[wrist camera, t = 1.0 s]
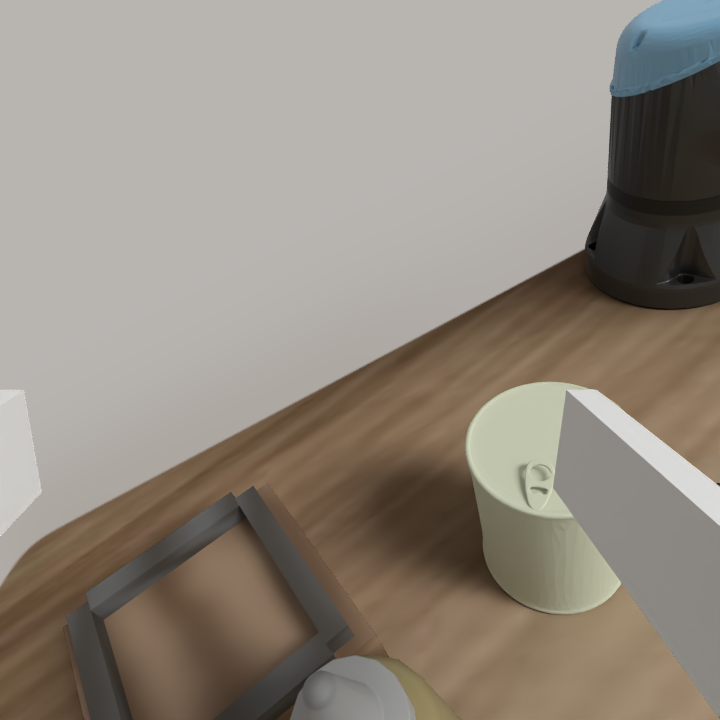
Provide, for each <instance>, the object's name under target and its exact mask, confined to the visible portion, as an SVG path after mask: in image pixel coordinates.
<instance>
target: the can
mask: <svg viewBox="0 0 720 720" xmlns="http://www.w3.org/2000/svg"><path fill="white" fill-rule="evenodd" d="M566 390H590V389H588V388H585V387H581V386H577V385H574V384H568V383H561V382H537V383H531V384H525V385H521V386H518V387H514V388H512V389H509V390H507V391H505V392H503V393H500V394H499V395H497V396H495V397H494V398H492V399H491V400H490V401H488V402H487V403H486V404H485V405H484V406H483V407H482V408H481V409H480V410H479V411H478V412H477V414H476V415H475V416H474V418H473V419H472V421H471V423H470V425H469V428H468V430H467V434H466V440H465V455H466V460H467V464H468V467H469V469H470V473H471V477H472V481H473V486H474V491H475V496H476V501H477V506H478V511H479V516H480V522H481V527H482V533H483V552H484V557H485V561H486V564H487V566H488V568H489V571H490V572H491V574H492V576H493V578H494V579H495V580H496V582H497V583H498V584H499V585H500V587H501V588H502V589H503V590H504V591H505V592H506V593H508V594H509V595H510V596H511V597H512V598H514V599H515V600H517V601H518V602H520V603H522V604H523V605H525V606H527V607H530V608H532V609H535V610H538V611H541V612H545V613H551V614H561V615H563V614H576V613H581V612H585V611H588V610H590V609H593V608H595V607H597V606H599V605H600V604H602V603H603V602H605V601H606V600H607V599H609V598H610V597H611V596H612V595H613V594H614V593H615V591H616V590H617V589H618V587H619V586H620V584H621V582H620V580H619V579H618V577H617V576H616V575H615V573H614V572H613V570H612V569H611V568H610V566H609V565H608V564H607V562H606V561H605V559H604V558H603V557H602V555H601V554H600V552H599V551H598V550H597V548H596V547H595V545H594V544H593V543H592V541H591V540H590V539H589V537H588V536H587V534H586V533H585V532H584V530H583V529H582V527H581V526H580V525H579V523H578V522H577V520H576V519H575V518H574V516H573V515H572V514H571V512H570V511H569V509H568V508H567V507H566V505H565V504H564V502H563V501H562V500H561V498H560V497H559V496H558V494H557V493H556V491H555V490H554V489H553V482H554V475H555V467H556V460H557V453H558V446H559V438H560V431H561V424H562V417H563V409H564V402H565V395H566ZM609 400H610V399H609ZM610 401H611V400H610ZM611 402H613V401H611ZM613 403H614V402H613ZM614 404H615V403H614ZM615 405H617V404H615ZM617 406H618V405H617ZM618 407H619V406H618ZM619 408H620V407H619ZM620 409H621V408H620Z"/></svg>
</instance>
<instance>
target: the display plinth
mask: <svg viewBox="0 0 720 720" xmlns="http://www.w3.org/2000/svg"><path fill="white" fill-rule="evenodd" d="M86 595H87V599H88V602H87V603H85V604H84V605H82V606H81V607H80V608H78V609H77V610H75V611H74V612H72V613H71V614H70V615H68V616H67V617H66V618H67V623H68V624H67V625H66V626H64V627H63V629H64V634H65V638H66V642H67V647H68V651H69V655H70V660H71V664H72V669H73V673H74V677H75V682H76V686H77V691H78V695H79V699H80V704H81V708H82V713H83V717H84V720H290V718H291V715H292V712H293V709H294V705H295V702H296V699H297V696H298V694H299V692H300V691H301V689H302V688H303V686H304V683H305V681H306V680H307V678H308V677H309V676H310V675H311V674H313V673H314V672H316V671H317V670H319V669H320V668H321V667H323V666H324V665H326V664H327V663H329V662H330V661H332V660H333V659H338V658H343V657H347V656H352V655H358V656H362V655H367V654H376V655H380V656H384V657H389V656H388V654H387V652H386V651H385V649H384V647H383V645H382V644H381V642H380V640H379V638H378V637H377V635H376V633H375V632H374V631H373V629H372V628H371V626H370V625H369V624H368V622H367V621H366V619H365V618H364V617H363V615H362V614H361V612H360V611H359V610H358V608H357V607H356V605H355V604H354V603H353V601H352V600H351V598H350V597H349V596H348V594H347V593H346V592H345V590H344V589H343V587H342V586H341V585H340V583H339V582H338V580H337V579H336V578H335V576H334V575H333V573H332V572H331V571H330V569H329V568H328V566H327V565H326V564H325V562H324V561H323V559H322V558H321V557H320V555H319V554H318V552H317V551H316V550H315V548H314V547H313V545H312V544H311V543H310V541H309V540H308V538H307V537H306V536H305V534H304V533H303V531H302V530H301V529H300V527H299V526H298V524H297V523H296V522H295V520H294V519H293V517H292V516H291V515H290V513H289V512H288V510H287V509H286V508H285V506H284V505H283V503H282V502H281V501H280V499H279V498H278V496H277V495H276V494H275V492H274V491H273V489H272V488H271V487H270V485H269V484H268V483H267V484H266V485H265V486H263V487H262V488H260V489H259V490H257V491H256V489H255V488H254V486H252V487H251V488H250V489H248V490H247V491H245V492H244V493H242V494H241V495H240V496H238V497H237V498H235V497H234V496H233V494H232V493H231V492H230V493H229V494H227V495H226V496H224V497H223V498H222V499H220V500H219V501H217V502H216V503H214V504H213V505H211V506H210V507H209V508H207V509H206V510H204V511H203V512H201V513H200V514H199V515H197V516H196V517H194V518H193V519H191V520H190V521H188V522H187V523H186V524H184V525H183V526H181V527H180V528H178V529H177V530H175V531H174V532H173V533H171V534H170V535H168V536H167V537H165V538H164V539H163V540H161V541H160V542H158V543H157V544H155V545H154V546H152V547H151V548H150V549H148V550H147V551H145V552H144V553H142V554H141V555H139V556H138V557H137V558H135V559H134V560H132V561H131V562H129V563H128V564H127V565H125V566H124V567H122V568H121V569H119V570H118V571H116V572H115V573H114V574H112V575H111V576H109V577H108V578H106V579H105V580H103V581H102V582H101V583H99V584H98V585H96V586H95V587H93V588H92V589H91V590H89V591H88V592H86Z"/></svg>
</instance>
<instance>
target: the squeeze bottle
mask: <svg viewBox="0 0 720 720" xmlns="http://www.w3.org/2000/svg"><path fill="white" fill-rule="evenodd" d="M290 720H461V719H460V718H459V717H458V716H457V715H456V714H455V712H454V711H453V710H452V709H451V708H450V707H449V706H448V705H447V704H446V703H445V701H444V700H443V699H442V698H441V697H440V696H439V695H438V694H437V693H436V692H435V691H434V689H433V688H432V687H431V686H430V685H429V684H428V683H427V682H426V681H425V680H424V678H422V677H421V676H420V675H418V674H417V673H416V672H414V671H413V670H412V669H410V668H409V667H408V666H407V665H405V664H404V663H403V662H401V661H400V660H397V659H393V658H389V657H384V656H380V655H376V654H367V655H362V656H358V655H352V656H347V657H343V658H338V659H333V660H332V661H330V662H329V663H327V664H326V665H324V666H323V667H321V668H320V669H319V670H317V671H316V672H314V673H313V674H311V675H310V676H309V677H308V678H307V680H306V681H305V683H304V686H303V688H302V689H301V691H300V692H299V694H298V696H297V699H296V702H295V705H294V709H293V712H292V715H291V718H290Z"/></svg>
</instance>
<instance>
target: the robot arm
mask: <svg viewBox="0 0 720 720" xmlns="http://www.w3.org/2000/svg"><path fill="white" fill-rule="evenodd" d="M610 92H611V95H612V102H611V121H610V122H611V123H610V142H609V162H608V180H607V193H606V196H605V198H604V200H603V203H602V205H601V207H600V209H599V212H598V214H597V216H596V219H595V221H594V223H593V225H592V228H591V230H590V232H589V235H588V237H587V241H586V245H585V270H586V273H587V275H588V277H589V278H590V280H591V281H592V282H593V283H594V284H595V285H596V286H597V287H598V288H599V289H601V290H602V291H604V292H605V293H607V294H609V295H610V296H612V297H615V298H617V299H619V300H622V301H625V302H628V303H632V304H636V305H640V306H646V307H653V308H667V309H676V308H690V307H698V306H703V305H708V304H712V303H715V302H718V301H720V0H663V1H661V2H659V3H657V4H655V5H653V6H651V7H650V8H648V9H646V10H645V11H643V12H642V13H640V14H639V15H638V16H636V17H635V18H634V19H633V20H632V21H631V22H630V23H629V24H628V25H627V26H626V28H625V29H624V30H623V32H622V34H621V36H620V38H619V40H618V44H617V48H616V57H615V65H614V74H613V80H612V82H611V84H610ZM553 489H554V490H555V491H556V493H557V494H558V496H559V497H560V498H561V500H562V501H563V502H564V504H565V505H566V507H567V508H568V509H569V511H570V512H571V514H572V515H573V516H574V518H575V519H576V520H577V522H578V523H579V525H580V526H581V527H582V529H583V530H584V532H585V533H586V534H587V536H588V537H589V539H590V540H591V541H592V543H593V544H594V545H595V547H596V548H597V550H598V551H599V552H600V554H601V555H602V557H603V558H604V559H605V561H606V562H607V564H608V565H609V566H610V568H611V569H612V570H613V572H614V573H615V575H616V576H617V577H618V579H619V580H620V582H621V583H622V584H623V586H624V587H625V588H626V590H627V591H628V593H629V594H630V595H631V597H632V598H633V600H634V601H635V602H636V604H637V605H638V607H639V608H640V609H641V611H642V612H643V613H644V615H645V616H646V618H647V619H648V620H649V622H650V623H651V625H652V626H653V627H654V629H655V630H656V632H657V633H658V634H659V636H660V637H661V638H662V640H663V641H664V643H665V644H666V645H667V647H668V648H669V650H670V651H671V652H672V654H673V655H674V657H675V658H676V659H677V661H678V662H679V663H680V665H681V666H682V668H683V669H684V670H685V672H686V673H687V675H688V676H689V677H690V679H691V680H692V681H693V683H694V684H695V686H696V687H697V688H698V690H699V691H700V693H701V694H702V695H703V697H704V698H705V700H706V701H707V702H708V704H709V705H710V706H711V708H712V709H713V711H714V712H715V713H716V715H717V716H718V718H720V483H714V482H713V481H712V480H711V479H709V478H708V477H707V476H706V475H704V474H703V473H702V472H700V471H699V470H698V469H697V468H695V467H694V466H693V465H692V464H690V463H689V462H688V461H686V460H685V459H684V458H683V457H681V456H680V455H679V454H678V453H676V452H675V451H674V450H672V449H671V448H670V447H669V446H667V445H666V444H665V443H664V442H662V441H661V440H660V439H658V438H657V437H656V436H655V435H653V434H652V433H651V432H650V431H648V430H647V429H646V428H644V427H643V426H642V425H641V424H639V423H638V422H637V421H636V420H634V419H633V418H632V417H631V416H629V415H628V414H627V413H625V412H624V411H623V410H622V409H620V408H619V407H618V406H617V405H615V404H614V403H613V402H611V401H610V400H609V399H608V398H606V397H605V396H604V395H603V394H601V393H600V392H599V391H597V390H566V395H565V402H564V409H563V417H562V424H561V431H560V438H559V446H558V453H557V460H556V467H555V475H554V482H553ZM41 493H42V489H41V483H40V478H39V472H38V466H37V461H36V455H35V449H34V444H33V439H32V432H31V427H30V421H29V416H28V410H27V405H26V399H25V393H24V390H0V536H1V535H2V534H3V533H4V532H5V531H6V530H7V529H8V528H9V527H10V526H11V525H12V524H13V523H14V522H15V520H16V519H17V518H18V517H19V516H20V515H21V514H22V513H23V512H24V511H25V510H26V509H27V508H28V507H29V505H31V503H32V502H33V501H34V500H35V499H36V498H37V497H38V496H39V495H40V494H41Z"/></svg>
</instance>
